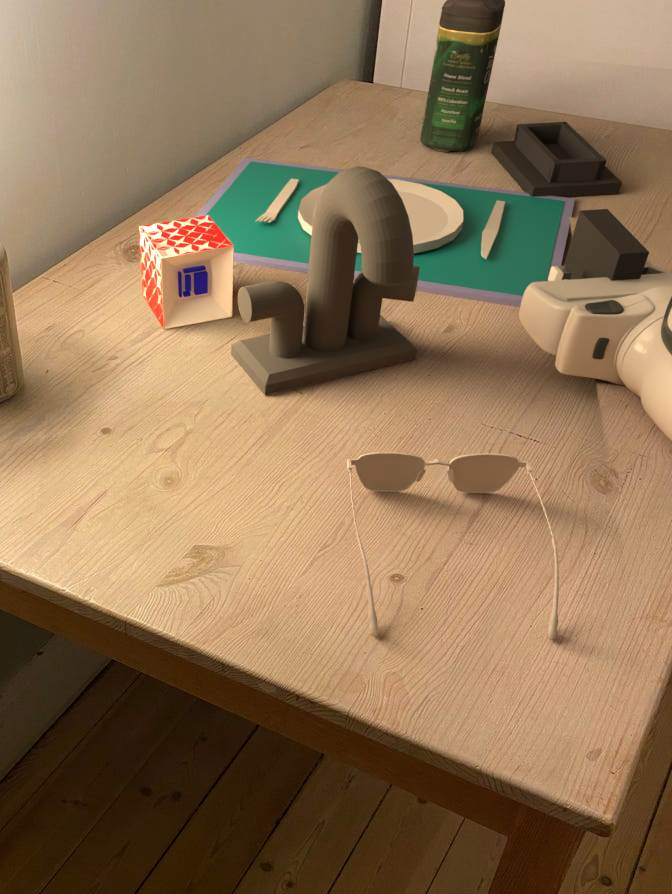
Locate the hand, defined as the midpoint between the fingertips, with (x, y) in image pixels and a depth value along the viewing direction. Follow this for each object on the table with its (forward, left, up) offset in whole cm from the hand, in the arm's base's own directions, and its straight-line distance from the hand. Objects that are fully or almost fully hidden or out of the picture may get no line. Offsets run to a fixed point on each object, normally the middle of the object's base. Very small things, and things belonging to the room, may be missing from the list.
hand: (596, 269), depth 98 cm
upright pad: (0, +1, -6) cm, 6 cm away
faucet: (+25, +16, -6) cm, 30 cm away
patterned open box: (+43, +5, -6) cm, 43 cm away
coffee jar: (+15, -49, -6) cm, 52 cm away
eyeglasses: (+14, +42, -6) cm, 44 cm away
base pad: (+1, -40, -6) cm, 41 cm away
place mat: (+23, -19, -6) cm, 31 cm away
